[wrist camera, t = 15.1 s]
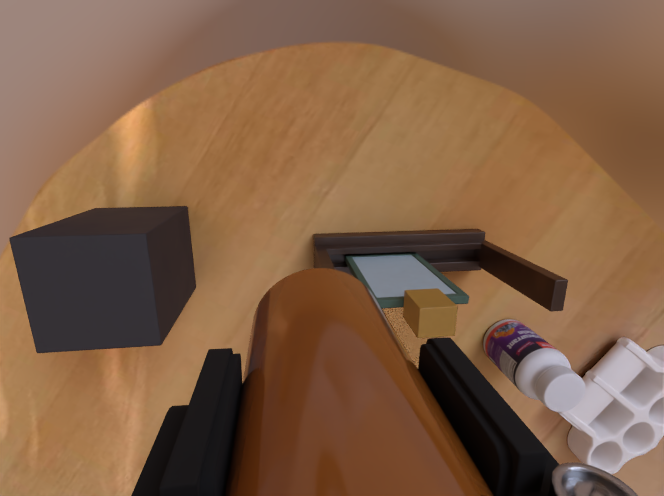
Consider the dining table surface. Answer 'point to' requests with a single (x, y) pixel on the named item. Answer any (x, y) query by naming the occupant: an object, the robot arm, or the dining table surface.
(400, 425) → the orange-brown cylinder
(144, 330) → the stand
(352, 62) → the dining table surface
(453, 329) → the pane
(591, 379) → the white compartment tray
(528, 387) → the pill bottle
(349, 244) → the window frame
